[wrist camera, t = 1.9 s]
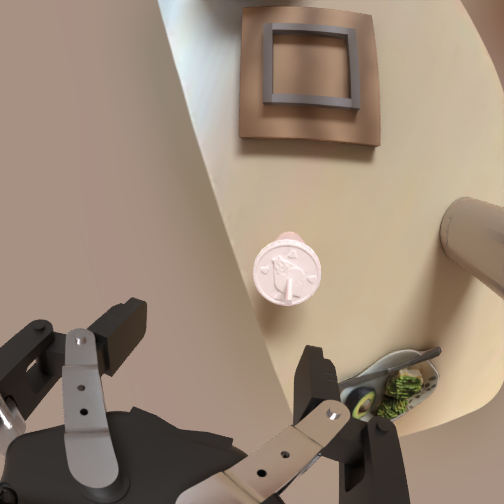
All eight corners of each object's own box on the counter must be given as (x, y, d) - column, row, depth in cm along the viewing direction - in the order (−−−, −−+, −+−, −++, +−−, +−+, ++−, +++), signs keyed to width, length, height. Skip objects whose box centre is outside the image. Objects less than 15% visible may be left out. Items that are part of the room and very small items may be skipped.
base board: (368, 21, 24) (374, 10, 20) (375, 146, 29) (384, 144, 26) (245, 14, 26) (240, 2, 23) (242, 138, 31) (236, 135, 28)
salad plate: (415, 314, 35) (426, 331, 31) (455, 368, 37) (465, 384, 32) (319, 387, 41) (320, 407, 37) (374, 426, 43) (378, 443, 38)
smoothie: (280, 279, 36) (271, 343, 23) (253, 237, 35) (227, 282, 22) (324, 254, 34) (340, 309, 21) (297, 210, 33) (300, 241, 20)
